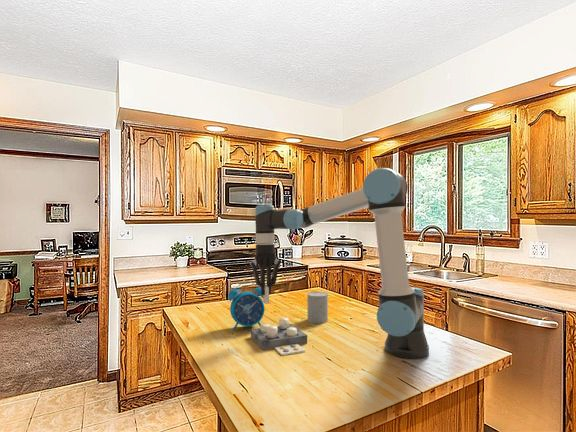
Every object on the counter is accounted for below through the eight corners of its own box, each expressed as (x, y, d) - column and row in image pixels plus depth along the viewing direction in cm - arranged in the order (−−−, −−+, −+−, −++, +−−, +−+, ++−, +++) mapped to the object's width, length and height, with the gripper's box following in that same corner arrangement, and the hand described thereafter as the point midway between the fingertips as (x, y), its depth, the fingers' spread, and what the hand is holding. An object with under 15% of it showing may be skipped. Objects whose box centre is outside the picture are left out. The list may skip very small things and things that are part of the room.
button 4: (298, 338, 135) (298, 329, 135) (288, 340, 134) (288, 331, 134) (294, 335, 139) (294, 326, 139) (285, 337, 137) (284, 328, 137)
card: (304, 351, 126) (304, 349, 126) (281, 355, 123) (281, 353, 123) (297, 345, 133) (297, 342, 133) (274, 348, 129) (274, 346, 129)
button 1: (271, 335, 139) (271, 326, 139) (262, 336, 138) (262, 327, 138) (268, 332, 143) (268, 323, 143) (259, 333, 142) (259, 324, 142)
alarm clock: (229, 333, 146) (229, 285, 146) (227, 325, 156) (227, 280, 156) (269, 330, 150) (268, 283, 150) (264, 322, 160) (264, 279, 160)
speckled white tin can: (327, 317, 168) (327, 291, 168) (328, 323, 159) (327, 296, 159) (307, 317, 169) (307, 291, 169) (306, 323, 160) (306, 296, 160)
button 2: (279, 337, 132) (279, 328, 132) (269, 338, 131) (268, 329, 131) (275, 334, 136) (275, 325, 136) (265, 335, 134) (265, 326, 134)
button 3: (290, 328, 143) (290, 319, 142) (281, 329, 141) (281, 320, 141) (286, 325, 146) (286, 317, 146) (277, 326, 145) (277, 318, 145)
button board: (307, 343, 135) (307, 335, 135) (262, 350, 128) (262, 341, 128) (292, 331, 149) (292, 324, 149) (250, 336, 142) (250, 329, 142)
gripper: (277, 242, 146) (278, 299, 146) (246, 243, 141) (247, 302, 141) (283, 243, 139) (284, 303, 139) (252, 245, 134) (253, 306, 134)
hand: (266, 302), depth 140 cm, fingers closed
